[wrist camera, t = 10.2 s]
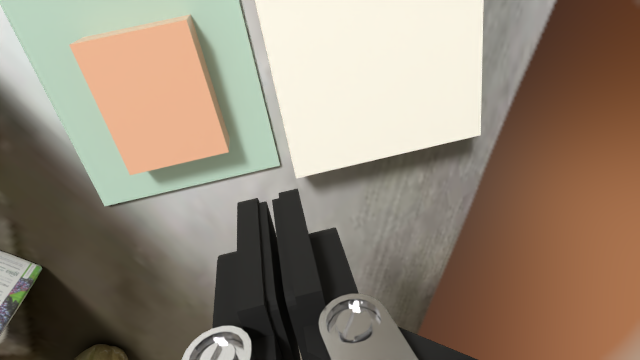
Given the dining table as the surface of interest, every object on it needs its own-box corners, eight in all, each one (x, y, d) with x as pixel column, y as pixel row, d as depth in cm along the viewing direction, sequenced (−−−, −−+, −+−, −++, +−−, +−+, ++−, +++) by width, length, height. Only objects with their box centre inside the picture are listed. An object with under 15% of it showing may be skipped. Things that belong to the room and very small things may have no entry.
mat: (-7, -17, 25) (-11, -16, 25) (223, -62, 26) (223, -62, 26) (106, 203, 33) (104, 206, 33) (279, 163, 34) (280, 165, 34)
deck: (241, -56, 26) (241, -58, 23) (454, -99, 27) (485, -106, 24) (290, 155, 34) (296, 178, 30) (456, 116, 35) (480, 135, 31)
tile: (186, 19, 25) (190, 14, 27) (69, 44, 25) (82, 37, 27) (228, 152, 30) (229, 138, 32) (130, 175, 29) (137, 159, 31)
